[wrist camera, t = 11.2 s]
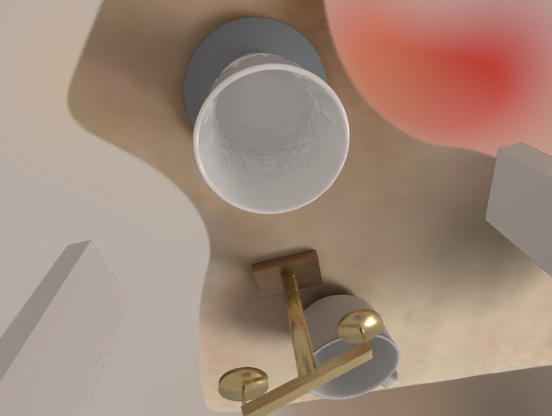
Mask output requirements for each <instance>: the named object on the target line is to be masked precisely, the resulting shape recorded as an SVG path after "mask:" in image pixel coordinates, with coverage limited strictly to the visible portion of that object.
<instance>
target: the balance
mask: <svg viewBox="0 0 552 416" xmlns="http://www.w3.org/2000/svg"><path fill="white" fill-rule="evenodd" d="M252 268H253V274H254V277H255V280H256V283H257V286H258V289H259V292H260V295H261V298H262V297H266V296H271V295H275V294H279V293H284V297H285V303H286V309H287V314H288V320H289V326H290V331H291V337H292V343H293V348H294V354H295V360H296V365H297V371H298V377H297V378H295V379H293V380H291V381H289V382H287V383H285V384H283V385H281V386H280V387H278V388H276V389H274V390H272V391H270V392H268V393H266V394H264V393H265V392H266V391H267V389H268V377H267V375H266V373H265V372H263V371H262V370H260V369H257V368H252V367H242V368H236V369H233V370H230V371H228V372H226V373H225V374H224V375H223V376H222V377H221V378H220V380H219V389H218V390H219V393H220V395H221V396H222V397H224V398H226V399H228V400H232V401H242V406H241V409H242V414H243V416H265V415H267V414H268V413H270V412H272V411H274V410H276V409H278V408H280V407H282V406H284V405H285V404H287V403H289V402H291V401H293V400H295V399H297V398H299V397H300V396H302V395H304V394H306V393H308V392H310V391H312V390H314V389H316V388H317V387H319V386H321V385H323V384H325V383H327V382H329V381H331V380H332V379H334V378H336V377H338V376H340V375H342V374H344V373H346V372H348V371H349V370H351V369H353V368H355V367H357V366H359V365H361V364H363V363H364V362H366V361H368V360H370V359H372V358H373V357H372V349H371V348H370V346H369V343H368V341H369V340H371V339H373V338H374V337H376V336H377V335H378V334H379V333H380V332H381V330H382V328H383V321H382V318H381V316H380V315H379V313H377V312H376V311H374V310H371V309H359V310H355V311H352V312H350V313H348V314H346V315H345V316H344V317H342V318H341V320H340V321H339V322H338V325H337V331H338V334H339V337H340V338H341V340H343V341H344V342H347V343H352V344H357V343H363V342H364V343H363V344H361V345H359V346H357V347H355V348H353V349H351V350H349V351H347V352H345V353H343V354H342V355H340V356H338V357H336V358H334V359H332V360H330V361H328V362H326V363H324V364H322V365H320V366H318V367H317V366H316V361H315V357H314V353H313V348H312V344H311V340H310V336H309V331H308V327H307V323H306V318H305V314H304V310H303V305H302V301H301V297H300V292H299V289H301V288H305V287H310V286H314V285H319V284H322V279H321V273H320V267H319V261H318V256H317V253H316V251H315V250H313V251H308V252H304V253H300V254H295V255H291V256H287V257H282V258H278V259H274V260H269V261H265V262H261V263H256V264H252ZM263 394H264V395H263ZM261 395H262V396H261ZM255 398H256V399H255ZM252 399H254V400H252ZM248 400H252V401H250V402H249V403H247V404H246V401H248Z"/></svg>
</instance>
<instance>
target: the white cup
mask: <svg viewBox="0 0 552 416" xmlns="http://www.w3.org/2000/svg"><path fill="white" fill-rule="evenodd" d="M349 140H350V132H349V123H348V119H347V115H346V112H345V109H344V107H343V105H342V103H341V101H340V99H339V98H338V96H337V95H336V93H335V92H334V91H333V90H332V89H331V87H330V86H329V85H328V84H327V83H325V82H324V81H323V80H322V79H320V78H319V77H318V76H316V75H314V74H313V73H311V72H309V71H308V70H306V69H304V68H302V67H301V66H299V65H298V64H296V63H294V62H292V61H290V60H288V59H285V58H283V57H280V56H277V55H273V54H271V53H247V54H245V55H243V56H242V57H240V58H238V59H236V60H234V61H232V62H230V63H229V64H228V66H227V67H226V68H225V69H224V70H223V71H222V73H221V74H220V75H219V77H218V78H217V79H216V81H215V82H214V84H213V86H212V88H211V90H210V92H209V94H208V96H207V98H206V100H205V101H204V103H203V105H202V107H201V109H200V111H199V114H198V116H197V119H196V123H195V127H194V133H193V150H194V156H195V160H196V163H197V166H198V169H199V171H200V173H201V175H202V177H203V179H204V180H205V182H206V183H207V184H208V186H209V187H210V188H211V189H212V190H213V191H214V192H215V193H216V194H217V195H218V196H219V197H220V198H222V199H223V200H224V201H226V202H227V203H229V204H231V205H233V206H235V207H237V208H239V209H242V210H245V211H249V212H253V213H260V214H277V213H284V212H288V211H292V210H295V209H298V208H300V207H303V206H305V205H307V204H309V203H310V202H312V201H314V200H315V199H317V198H318V197H319V196H321V195H322V194H323V193H324V192H325V191H326V190H327V189H328V188H329V187H330V186H331V185H332V184H333V182H334V181H335V180H336V178H337V177H338V175H339V173H340V172H341V170H342V168H343V165H344V163H345V160H346V157H347V154H348V149H349Z"/></svg>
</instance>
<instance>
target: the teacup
mask: <svg viewBox="0 0 552 416" xmlns="http://www.w3.org/2000/svg"><path fill="white" fill-rule="evenodd" d="M359 309H371V310H374V309H373V308H372V307H371V306H370V305H369V304H368V303H367V302H366V301H364V300H362V299H360V298H358V297H355V296H351V295H331V296H327V297H324V298H321V299H319V300H317V301H316V302H314V303H313V304H311V305H310V306H309V307H308V308H307V309H305V310H304V314H305V318H306V323H307V327H308V331H309V336H310V340H311V344H312V348H313V353H314V357H315V361H316V366H317V367H318V366H320V365H322V364H324V363H326V362H328V361H330V360H332V359H334V358H336V357H338V356H340V355H342V354H343V353H345V352H347V351H349V350H351V349H353V348H355V347H357V346H359V345H361V344H363V343H364V342H363V343H357V344H352V343H347V342H344V341H343V340H341V338H340V337H339V334H338V331H337V325H338V322H339V321H340V320H341V318H342V317H344V316H345V315H346V314H348V313H350V312H352V311H355V310H359ZM374 311H375V310H374ZM368 343H369V346H370V348H371V349H372V357H373V358H372V359H370V360H368V361H366V362H364V363H363V364H361V365H359V366H357V367H355V368H353V369H351V370H349V371H348V372H346V373H344V374H342V375H340V376H338V377H336V378H334V379H332V380H331V381H329V382H327V383H325V384H323V385H321V386H319V387H317V388H316V389H314V390H312V391H310V392H309V393H310V394H312V395H314V396H317V397H320V398H325V399H332V400H337V399H347V398H352V397H356V396H359V395H362V394H364V393H367V392H369V391H371V390H372V389H374V388H377V387H378V386H379V385H382V386H383V387H385V388H389V389H390V388H392V387H394V386H395V385H396V384H397V383H398V381H399V377H398V373H397V371H396V368H397V366H398V363H399V359H400V353H399V349H398V347H397V345H396V344H395V342H394V341H393V340H392V338H391V337H390V335H389V333H388V331H387V329H386V327H385V326H384V324H383V328H382V330H381V332H380V333H379V334H378V335H377V336H376V337H374V338H373V339H371V340H369V341H368Z"/></svg>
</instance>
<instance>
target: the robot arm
mask: <svg viewBox="0 0 552 416" xmlns="http://www.w3.org/2000/svg"><path fill="white" fill-rule="evenodd" d="M485 220H486V221H487V222H488V223H489V224H491V225H492V226H493V227H494V228H495V229H496V230H498V231H499V232H500V233H501V234H502V235H503V236H505V237H506V238H507V239H508V240H509V241H510V242H512V243H513V244H514V245H515V246H516V247H517V248H519V249H520V250H521V251H522V252H523V253H525V254H526V255H527V256H528V257H529V258H530V259H532V260H533V261H534V262H535V263H536V264H537V265H539V266H540V267H541V268H542V269H543V270H544V271H546V272H547V273H548V274H549V275H550V276H551V277H552V156H550V155H548V154H546V153H543V152H541V151H539V150H537V149H535V148H533V147H531V146H529V145H526V144H524V143H519V144H515V145H510V146H506V147H502V148H498V152H497V157H496V162H495V168H494V173H493V179H492V184H491V190H490V196H489V201H488V207H487V212H486V218H485ZM128 299H129V298H128V296H127V295H126V294H125V292H124V290H123V289H122V287H121V286H120V284H119V283H118V281H117V280H116V278H115V277H114V275H113V273H112V272H111V271H110V269H109V267H108V266H107V264H106V263H105V261H104V260H103V258H102V257H101V255H100V254H99V252H98V251H97V249H96V247H95V246H94V244H93V243H92V241H85V242H81V243H77V244H72V245H68V246H67V247H66V249H65V250H64V252H63V253H62V254H61V256H60V257H59V258H58V260H57V261H56V262H55V264H54V265H53V267H52V268H51V270H50V271H49V272H48V274H47V275H46V276H45V278H44V279H43V280H42V282H41V283H40V285H39V286H38V287H37V289H36V290H35V292H34V293H33V294H32V296H31V297H30V298H29V300H28V301H27V302H26V304H25V305H24V307H23V308H22V309H21V311H20V312H19V314H18V315H17V316H16V318H15V319H14V320H13V322H12V323H11V324H10V326H9V327H8V329H7V330H6V332H5V333H4V334H3V336H2V337H1V338H0V416H84V415H85V412H86V410H87V407H88V404H89V402H90V399H91V397H92V394H93V391H94V389H95V386H96V383H97V381H98V378H99V375H100V373H101V370H102V368H103V365H104V362H105V360H106V357H107V354H108V352H109V349H110V347H111V344H112V341H113V339H114V336H115V334H116V331H117V328H118V326H119V323H120V320H121V318H122V315H123V313H124V310H125V307H126V305H127V302H128Z"/></svg>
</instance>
